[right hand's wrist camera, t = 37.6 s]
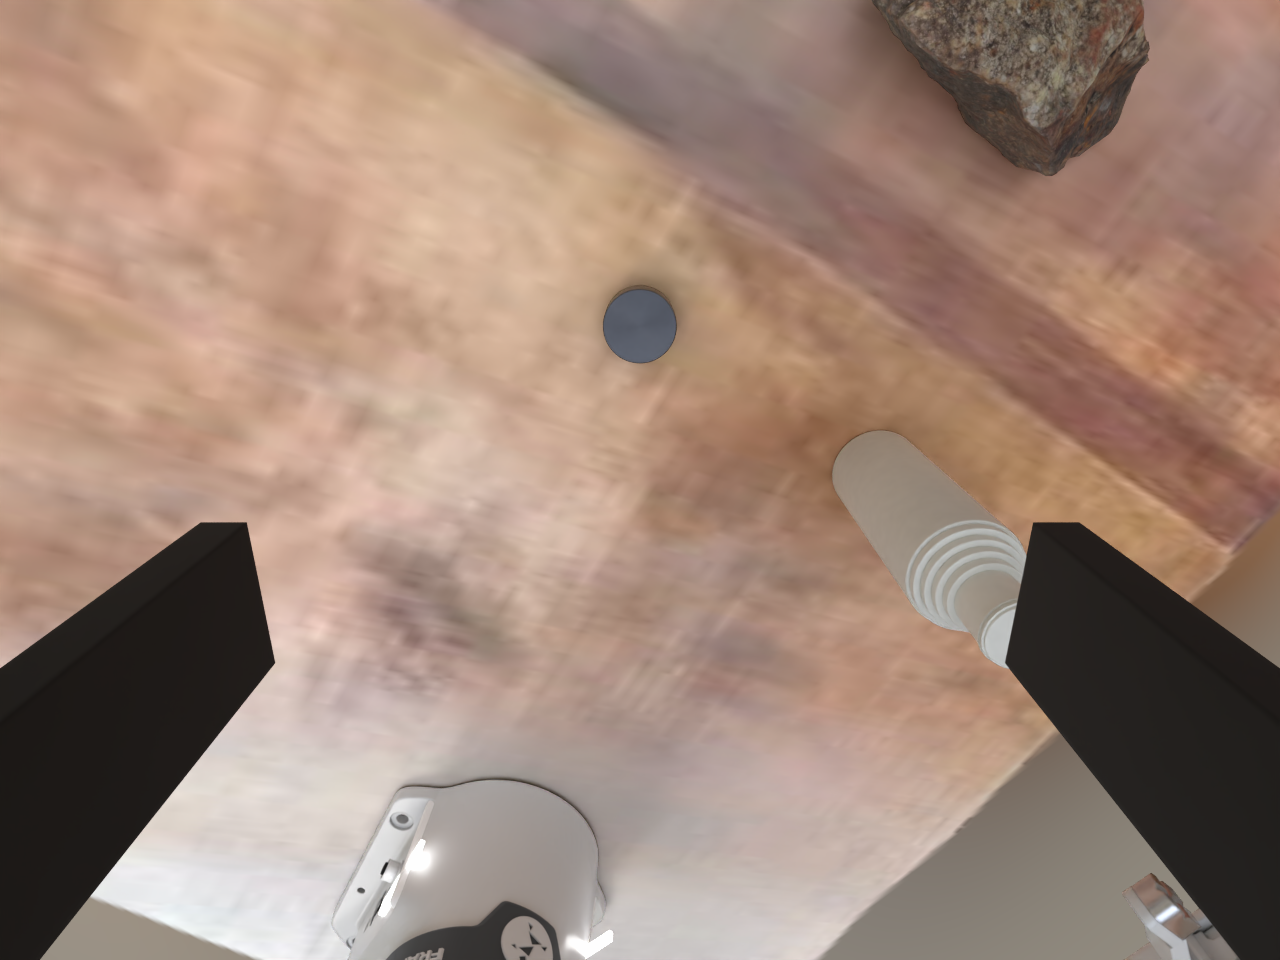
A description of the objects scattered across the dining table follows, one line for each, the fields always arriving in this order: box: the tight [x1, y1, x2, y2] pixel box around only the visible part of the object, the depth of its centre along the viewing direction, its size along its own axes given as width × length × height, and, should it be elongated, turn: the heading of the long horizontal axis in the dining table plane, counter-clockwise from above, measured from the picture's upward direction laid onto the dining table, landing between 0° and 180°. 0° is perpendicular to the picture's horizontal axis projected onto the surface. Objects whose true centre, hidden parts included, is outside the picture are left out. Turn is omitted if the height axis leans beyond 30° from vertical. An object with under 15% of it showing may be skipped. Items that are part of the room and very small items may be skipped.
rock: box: [872, 0, 1149, 176], centre depth 34 cm, size 14×9×10 cm
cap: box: [603, 285, 677, 363], centre depth 41 cm, size 4×4×2 cm
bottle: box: [832, 430, 1027, 669], centre depth 37 cm, size 5×5×19 cm
